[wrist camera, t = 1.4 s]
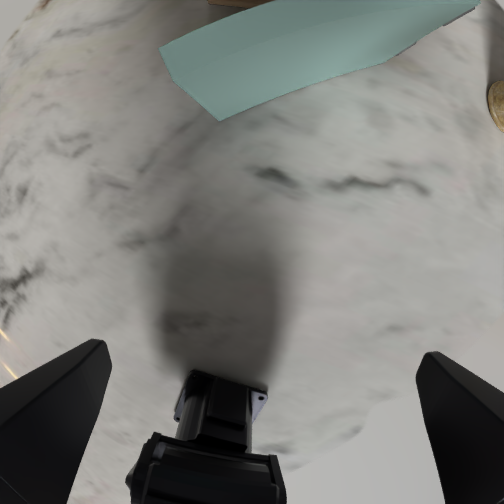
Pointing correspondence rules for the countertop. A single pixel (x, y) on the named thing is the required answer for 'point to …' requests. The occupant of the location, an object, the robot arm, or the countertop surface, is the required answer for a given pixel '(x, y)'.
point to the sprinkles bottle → (497, 103)
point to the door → (296, 46)
